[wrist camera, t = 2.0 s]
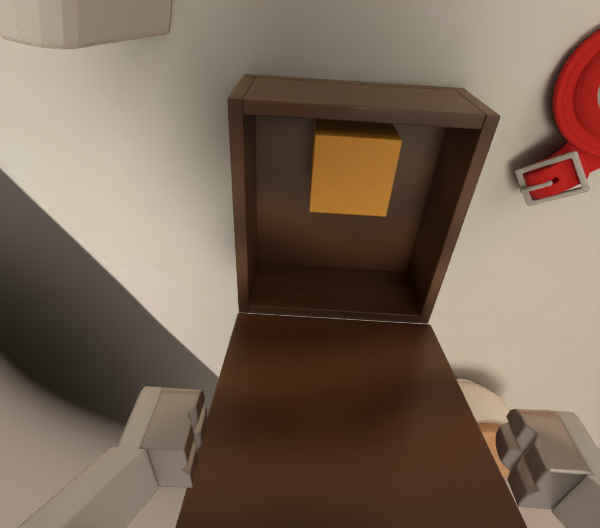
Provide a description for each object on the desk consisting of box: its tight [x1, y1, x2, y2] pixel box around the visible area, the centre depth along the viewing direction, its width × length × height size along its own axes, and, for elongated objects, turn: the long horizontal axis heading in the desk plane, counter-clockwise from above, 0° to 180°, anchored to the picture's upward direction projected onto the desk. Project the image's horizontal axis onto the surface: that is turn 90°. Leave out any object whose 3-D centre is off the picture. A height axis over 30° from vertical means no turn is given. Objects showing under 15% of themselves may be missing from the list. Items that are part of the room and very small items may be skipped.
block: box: [309, 119, 402, 217], centre depth 26 cm, size 5×5×5 cm
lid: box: [175, 313, 527, 528], centre depth 23 cm, size 16×15×5 cm
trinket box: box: [457, 379, 510, 478], centre depth 42 cm, size 11×11×9 cm
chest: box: [227, 74, 500, 324], centre depth 28 cm, size 16×15×6 cm
